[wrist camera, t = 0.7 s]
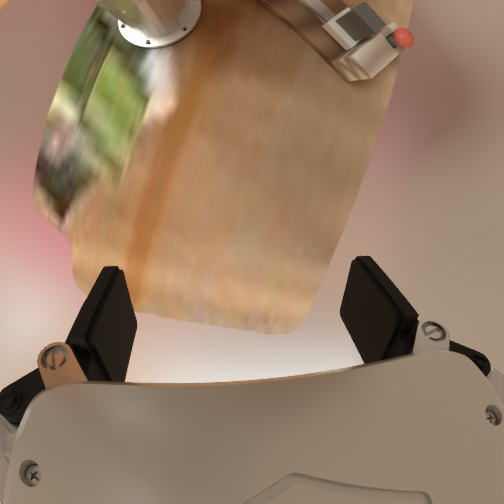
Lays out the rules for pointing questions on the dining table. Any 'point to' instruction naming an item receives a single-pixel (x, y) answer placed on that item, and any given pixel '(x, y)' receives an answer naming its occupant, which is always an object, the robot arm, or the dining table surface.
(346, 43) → the carriage
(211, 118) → the dining table surface
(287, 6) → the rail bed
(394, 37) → the red rounded knob
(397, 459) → the robot arm
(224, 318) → the dining table surface
